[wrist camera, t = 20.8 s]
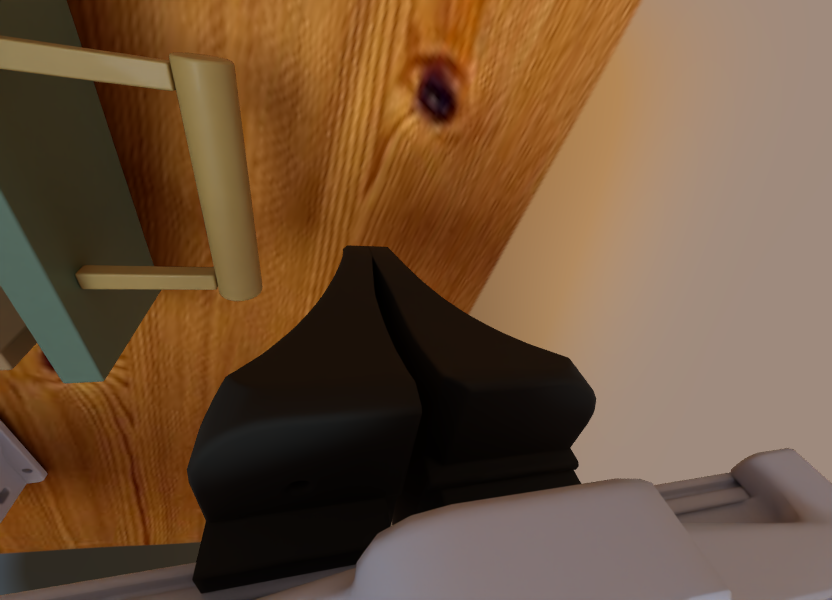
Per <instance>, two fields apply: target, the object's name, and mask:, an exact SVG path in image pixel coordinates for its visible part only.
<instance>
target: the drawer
mask: <svg viewBox="0 0 832 600" xmlns="http://www.w3.org/2000/svg"><path fill="white" fill-rule="evenodd" d="M169 59H170V60H163V59H157V58H150V57H143V56H136V55H130V54H123V53H116V52H109V51H103V50H96V49H89V48H82V46H81V43H80V40H79V36H78V33H77V30H76V27H75V24H74V21H73V18H72V15H71V12H70V9H69V6H68V3H67V0H0V370H10V369H13V368H14V367H15V366H16V365H17V364H18V363H19V361H20V360H21V359H22V358H23V357H24V356H25V355H26V354H27V353H28V352H29V351H30V350H31V348H32V347H33V346H34V345H35V344H36V343H38V345H39V346H40V348H41V349H42V351H43V352H44V354H45V355H46V357H47V359H48V360H49V362H50V363H51V365H52V366H53V368H54V369H55V371H56V372H57V374H58V376H59V377H60V379H61V380H62V382H63V383H81V382H101V381H104V380H105V379H106V377H107V376H108V374H109V372H110V371H111V369H112V368H113V366H114V364H115V363H116V361H117V360H118V358H119V356H120V355H121V353H122V352H123V350H124V349H125V347H126V345H127V344H128V342H129V341H130V339H131V337H132V336H133V334H134V333H135V331H136V329H137V328H138V326H139V325H140V323H141V321H142V320H143V318H144V317H145V315H146V313H147V312H148V310H149V309H150V307H151V306H152V304H153V302H154V301H155V299H156V298H157V296H158V294H159V293H160V291H161V289H167V290H215V289H217V287H218V288H219V292H220V294H221V295H222V297H224V298H225V299H228V300H232V301H244V300H249V299H252V298H254V297H256V296H257V295H259V294H260V293H261V291H262V279H261V272H260V264H259V256H258V248H257V240H256V232H255V224H254V216H253V208H252V201H251V193H250V185H249V177H248V169H247V161H246V153H245V145H244V137H243V129H242V122H241V114H240V106H239V98H238V90H237V82H236V74H235V66H234V63H233V62H232V61H230V60H228V59H224V58H219V57H214V56H208V55H201V54H193V53H180V52H174V53H170V54H169ZM93 81H97V82H105V83H113V84H120V85H128V86H136V87H144V88H152V89H159V90H167V91H174V90H176V92H177V97H178V101H179V106H180V111H181V115H182V120H183V125H184V129H185V134H186V139H187V143H188V148H189V153H190V157H191V162H192V167H193V171H194V176H195V181H196V185H197V190H198V195H199V199H200V204H201V209H202V213H203V218H204V223H205V227H206V232H207V236H208V241H209V246H210V250H211V255H212V260H213V264H214V267H163V266H154V264H153V261H152V258H151V255H150V252H149V249H148V246H147V243H146V240H145V237H144V234H143V231H142V228H141V225H140V222H139V219H138V216H137V213H136V210H135V207H134V204H133V201H132V198H131V195H130V192H129V188H128V185H127V182H126V179H125V176H124V173H123V170H122V167H121V164H120V161H119V158H118V155H117V152H116V149H115V146H114V143H113V140H112V137H111V134H110V131H109V128H108V125H107V122H106V119H105V116H104V112H103V109H102V106H101V103H100V100H99V97H98V94H97V91H96V88H95V85H94V82H93Z"/></svg>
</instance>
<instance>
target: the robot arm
mask: <svg viewBox="0 0 832 600" xmlns="http://www.w3.org/2000/svg"><path fill="white" fill-rule="evenodd" d="M595 404H596V397H595V394H594V391H593V389H592V388H591V387H590V385H589V384H588V383H587V381H586V380H585V379H584V377H583V376H582V375H581V373H580V372H579V371H578V369H577V368H576V367H575V365H574V364H573V363H572V361H571V360H570V359H569V358H568V357H565V356H562V355H559V354H556V353H553V352H550V351H547V350H545V349H542V348H539V347H536V346H533V345H530V344H527V343H525V342H523V341H520V340H518V339H516V338H513V337H511V336H509V335H506V334H504V333H502V332H500V331H498V330H496V329H494V328H492V327H490V326H488V325H486V324H484V323H482V322H480V321H479V320H477V319H475V318H473V317H471V316H470V315H468V314H466V313H465V312H463V311H461V310H460V309H458V308H457V307H455V306H454V305H452V304H451V303H449V302H448V301H446V300H445V299H444V298H442V297H441V296H440V295H438V294H437V293H436V292H435V291H433V290H432V289H431V288H430V287H429V286H427V285H426V284H425V283H424V282H423V281H422V280H420V279H419V278H418V277H417V276H416V275H415V274H414V273H413V272H412V271H411V270H410V269H409V268H408V267H407V266H406V265H405V264H404V263H403V262H402V261H401V260H400V259H399V258H398V257H397V256H396V255H395V254H394V253H393V252H392V251H391V250H390V249H389V248H388V247H374V246H346V247H345V248H344V249H343V257H342V260H341V263H340V265H339V268H338V270H337V272H336V274H335V276H334V278H333V280H332V281H331V283H330V284H329V286H328V288H327V289H326V291H325V292H324V294H323V295H322V297H321V298H320V300H319V301H318V302H317V303H316V305H315V306H314V307H313V308H312V310H311V311H310V312H309V313H308V314H307V315H306V316H305V317H304V318H303V319H302V320H301V322H300V323H299V324H298V325H297V326H296V327H295V328H294V329H292V330H291V331H290V332H289V333H288V334H287V335H286V336H285V337H283V338H282V339H281V340H280V341H278V342H277V343H276V344H275V345H273V346H272V347H271V348H270V349H268V350H267V351H266V352H265V353H263V354H262V355H260V356H259V357H257V358H255V359H254V360H252V361H251V362H249V363H248V364H246V365H244V366H243V367H241V368H240V369H238V370H236V371H235V372H233V373H231V374H229V375H228V376H227V377H225V379H224V381H223V382H222V384H221V386H220V388H219V389H218V391H217V393H216V395H215V397H214V398H213V400H212V402H211V405H210V407H209V409H208V411H207V413H206V415H205V417H204V419H203V421H202V424H201V426H200V429H199V432H198V435H197V438H196V441H195V445H194V448H193V451H192V455H191V458H190V461H189V464H188V468H187V473H188V480H189V484H190V486H191V488H192V490H193V493H194V495H195V497H196V499H197V502H198V504H199V506H200V508H201V510H202V513H203V515H204V517H205V519H206V524H205V528H204V532H203V536H202V540H201V545H200V549H199V554H198V557H197V561H196V563H190V564H185V565H178V566H173V567H167V568H161V569H155V570H149V571H143V572H137V573H132V574H125V575H119V576H114V577H107V578H101V579H96V580H90V581H84V582H78V583H72V584H66V585H61V586H54V587H48V588H42V589H36V590H31V591H24V592H19V593H13V594H6V595H0V600H832V483H831V482H830V481H828V480H827V479H826V478H825V477H824V476H823V475H822V474H821V473H819V472H818V471H817V470H816V469H815V468H814V467H813V466H812V465H811V464H809V463H808V462H807V461H806V460H805V459H804V458H803V457H802V456H800V455H799V454H798V453H797V452H796V451H795V450H794V449H789V448H785V449H779V450H773V451H766V452H760V453H756V454H753V455H751V456H749V457H747V458H745V459H744V460H742V461H741V462H740V463H738V464H737V465H736V466H735V467H733V468H732V469H731V472H730V473H725V474H719V475H713V476H707V477H701V478H695V479H689V480H684V481H677V482H671V483H665V484H660V485H653V484H652V483H651V482H648V481H645V480H642V479H611V480H604V481H597V482H591V483H585V484H581V482H580V481H579V479H578V477H577V475H576V474H575V472H574V470H576V469H577V467H578V460H577V459H576V457H575V455H574V454H573V452H572V450H571V449H570V447H571V446H572V445H573V443H574V442H575V440H576V439H577V438H578V436H579V435H580V433H581V432H582V431H583V429H584V428H585V426H586V425H587V424H588V422H589V420H590V418H591V417H592V415H593V413H594V410H595ZM46 476H47V472H46V471H45V470H44V469H43V468H42V466H41V465H40V464H39V463H38V462H37V461H36V460H35V458H34V457H33V456H32V455H31V454H30V453H29V452H28V451H27V449H26V448H25V447H24V446H23V445H22V444H21V443H20V441H19V440H18V439H17V438H16V437H15V436H14V435H13V434H12V432H11V431H10V430H9V429H8V428H7V427H6V426H5V424H4V423H3V422H2V421H1V420H0V523H1V522H2V520H3V519H4V517H5V516H6V514H7V513H8V511H9V510H10V508H11V507H12V505H13V504H14V502H15V500H16V499H17V497H18V496H19V494H20V493H21V491H22V490H23V488H24V487H25V485H26V484H27V483H36V482H41V481H43V480H44V479H45V478H46ZM391 522H392V526H391ZM390 526H391V527H390Z"/></svg>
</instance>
